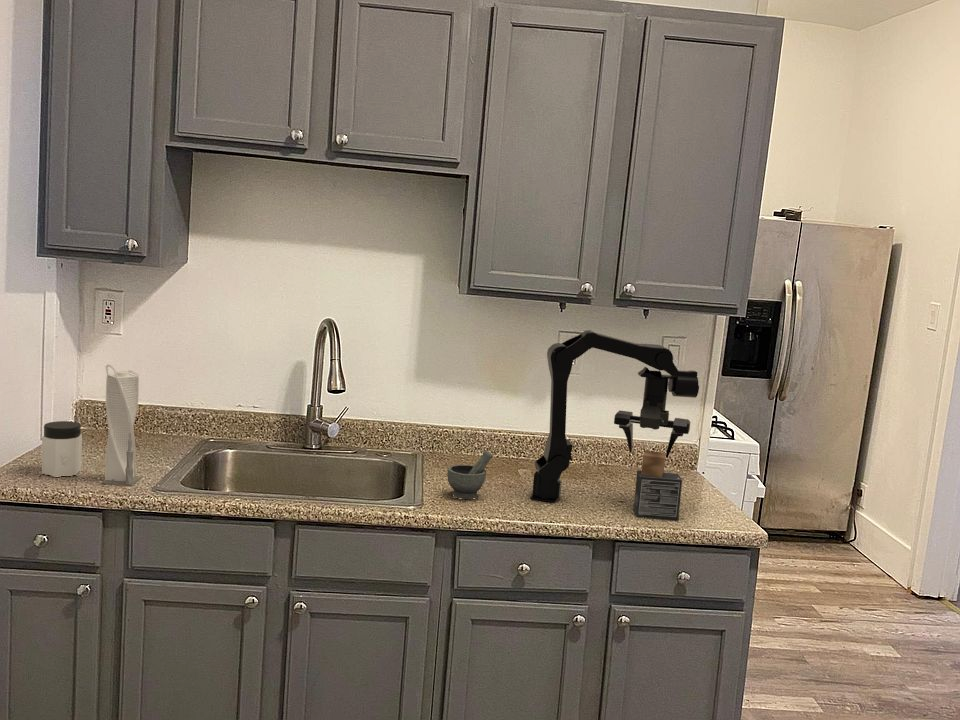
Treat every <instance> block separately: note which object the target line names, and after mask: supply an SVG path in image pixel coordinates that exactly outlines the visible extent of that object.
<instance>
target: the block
mask: <svg viewBox="0 0 960 720" xmlns="http://www.w3.org/2000/svg"><path fill="white" fill-rule="evenodd" d="M665 462H666V453H664V452H657V451H649V450H644V453H643V455H642V463H641V470H640V471H641V475H645V476H652V477H659V478H662V476H663V473H665Z"/></svg>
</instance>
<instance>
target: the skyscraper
mask: <svg viewBox="0 0 960 720" xmlns="http://www.w3.org/2000/svg"><path fill="white" fill-rule="evenodd" d="M109 368H111V369H112V370H113V372H114V373H113V374H109V373H110V372H109ZM105 371H106V383H105V386H106V387H105V409H106V410H105V411H106V419H107V425H108V432H107V440H106V441H107V442H106V453H105V468H104V469H105V471H104V480H103V481H102V482H101V485H107V484H114V485H113V486H121V485H122V486H123V487H124V486H125V487H133V486H134V485H135V484H136V483H137V482H140V481H141V480H142V479H143V476H141V475H136V440H135V431H134V425H135V422H136V416H137V413H138V406H139V393H140V388H139V387H140V383H139V382H140V377H139V374H138V373H137V372H135V371H133V370H128V371H127V370H118V371H116V369H115V367H113V366H112V365H111V364H106V366H105Z"/></svg>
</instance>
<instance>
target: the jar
mask: <svg viewBox="0 0 960 720" xmlns="http://www.w3.org/2000/svg"><path fill="white" fill-rule="evenodd" d="M81 426H82V425H81V423H79V422H76V421H70V420H69V421H67V420H62V421H60V420H58V421H51V422H47V423H45V424H44V425H43V436H41V474H42V473H45V474H49V475H53V476H63V475H76V474H77V473H78V472H79V471H80V472H82V457H83V456H82V455H83V454H82V453H83V452H82V451H83V449H82V448H83V447H82V446H83V433H81V429H82V428H81ZM80 472H79V473H80ZM79 473H78V474H79ZM78 474H77V475H78ZM77 475H76V476H77Z"/></svg>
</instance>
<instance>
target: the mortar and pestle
mask: <svg viewBox="0 0 960 720" xmlns="http://www.w3.org/2000/svg"><path fill="white" fill-rule="evenodd" d="M493 457H494V455H493V454H492V452H490V451H488V450H486V449H485V450H483V452H482V455H481V456H480V457H479V459H478V460H477V461H476V462H475V464H474V465H472V464H455V465H449V467H448V468H447V471H446V473H447V482H448V484H449V486H450V487H451V488H452V489H453V492H452V496H453V495H454V496H455V497H457V498H462V499H473V498H476V497H477V498H478V491H480V490H481V489H482V488H483V486H484V484H485V481H486V477H487V470H486V467H487V466H488V464H489V462H490V460H492V459H493ZM455 497H454V498H455ZM457 498H456V499H457ZM477 498H476V499H477ZM462 499H461V500H462ZM473 500H474V499H473Z"/></svg>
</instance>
